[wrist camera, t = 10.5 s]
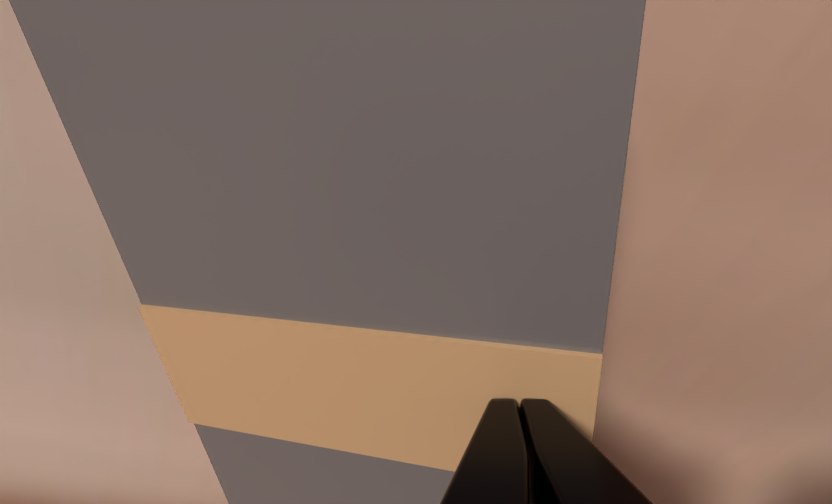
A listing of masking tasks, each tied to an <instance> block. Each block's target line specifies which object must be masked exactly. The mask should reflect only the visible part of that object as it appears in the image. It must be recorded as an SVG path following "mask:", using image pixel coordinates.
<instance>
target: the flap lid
mask: <svg viewBox="0 0 832 504" xmlns="http://www.w3.org/2000/svg"><path fill="white" fill-rule="evenodd" d="M9 1H10V4H11V6H12V8H13V11H14V13H15V15H16V17H17V20H18V22H19V24H20V27H21V29H22V31H23V33H24V36H25V38H26V40H27V43H28V45H29V47H30V50H31V52H32V54H33V56H34V59H35V61H36V63H37V66H38V68H39V70H40V72H41V75H42V77H43V79H44V82H45V84H46V86H47V88H48V91H49V93H50V95H51V98H52V100H53V102H54V104H55V107H56V109H57V111H58V114H59V116H60V118H61V120H62V123H63V125H64V127H65V130H66V132H67V134H68V136H69V139H70V141H71V143H72V146H73V148H74V150H75V152H76V155H77V157H78V159H79V162H80V164H81V166H82V168H83V171H84V173H85V175H86V178H87V180H88V182H89V184H90V187H91V189H92V191H93V194H94V196H95V198H96V200H97V203H98V205H99V207H100V210H101V212H102V214H103V216H104V219H105V221H106V223H107V226H108V228H109V230H110V233H111V235H112V237H113V239H114V242H115V244H116V246H117V249H118V251H119V253H120V255H121V258H122V260H123V262H124V265H125V267H126V269H127V271H128V274H129V276H130V278H131V281H132V283H133V285H134V287H135V290H136V292H137V294H138V297H139V299H140V301H141V303H142V305H141V306H139V307H138V309H139V311H140V313H141V316H142V318H143V320H144V322H145V325H146V327H147V329H148V331H149V334H150V336H151V338H152V340H153V343H154V345H155V347H156V349H157V352H158V354H159V356H160V358H161V361H162V363H163V365H164V367H165V370H166V372H167V374H168V376H169V379H170V381H171V383H172V385H173V388H174V390H175V392H176V394H177V397H178V399H179V401H180V403H181V406H182V408H183V410H184V413H185V415H186V417H187V419H188V422H189V423H194V425H195V427H196V429H197V432H198V434H199V436H200V438H201V441H202V443H203V445H204V448H205V450H206V452H207V454H208V457H209V459H210V461H211V464H212V466H213V468H214V470H215V473H216V475H217V477H218V480H219V482H220V484H221V486H222V489H223V491H224V493H225V496H226V498H227V500H228V502H229V504H440V502H441V500H442V498H443V496H444V494H445V491H446V489H447V487H448V485H449V483H450V481H451V479H452V477H453V475H454V473H455V471H456V469H457V467H458V465H459V462H460V460H461V458H462V456H463V454H464V452H465V450H466V448H467V446H468V444H469V442H470V440H471V438H472V435H473V433H474V431H475V429H476V427H477V425H478V423H479V421H480V419H481V417H482V415H483V413H484V411H485V409H486V406H487V404H488V402H489V401H490V400H491V399H502V398H512V399H514V400H515V401H516V403H517V407H518V412H519V416H520V402H521V400H522V399H524V398H536V399H547V400H549V401H550V402H551V403H552V404H553V405H554V406H555V407H556V408H557V409H558V410H559V411H560V412H561V413H562V414H563V415H564V416H565V417H566V418H567V419H568V420H569V421H570V422H571V423H572V424H573V425H574V426H575V427H576V428H577V429H578V430H579V431H580V432H581V433H582V434H583V435H584V436H585V437H586V438H587V439H588V440H589V441H590V442H591V443H592V439H593V431H594V423H595V415H596V407H597V399H598V391H599V383H600V375H601V367H602V352H603V344H604V335H605V327H606V319H607V311H608V303H609V295H610V287H611V279H612V271H613V263H614V254H615V246H616V238H617V230H618V222H619V214H620V206H621V198H622V190H623V182H624V174H625V165H626V157H627V149H628V141H629V133H630V125H631V117H632V109H633V101H634V93H635V85H636V76H637V68H638V60H639V52H640V44H641V36H642V28H643V20H644V12H645V4H646V0H9Z"/></svg>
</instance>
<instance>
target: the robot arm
mask: <svg viewBox="0 0 832 504" xmlns="http://www.w3.org/2000/svg"><path fill="white" fill-rule="evenodd" d="M440 504H653V503H652V502H651V501H650V500H649V499H648V498H647V497H646V496H645V495H644V494H643V493H642V492H641V491H640V490H639V489H638V488H637V487H636V486H635V485H634V484H633V483H632V482H630V481H629V480H628V479H627V478H626V477H625V476H624V475H623V474H622V473H621V472H620V471H619V470H618V469H617V468H616V467H615V466H614V465H613V464H612V463H611V462H610V461H609V460H608V459H607V458H606V457H605V456H604V455H603V454H602V453H601V452H600V451H599V450H598V449H597V448H596V447H595V446H594V445H593V444H592V443H591V442H590V441H589V440H588V439H587V438H586V437H585V436H584V435H583V434H582V433H581V432H580V431H579V430H578V429H577V428H576V427H575V426H574V425H573V424H572V423H571V422H570V421H569V420H568V419H567V418H566V417H565V416H564V415H563V414H562V413H561V412H560V411H559V410H558V409H557V408H556V407H555V406H554V405H553V404H552V403H551V402H550V401H549V400H547V399H536V398H524V399H522V400H521V402H520V416H519V412H518V407H517V403H516V401H515V400H514V399H512V398H502V399H491V400H490V401H489V402H488V404H487V406H486V409H485V411H484V413H483V415H482V417H481V419H480V421H479V423H478V425H477V427H476V429H475V431H474V433H473V435H472V438H471V440H470V442H469V444H468V446H467V448H466V450H465V452H464V454H463V456H462V458H461V460H460V462H459V465H458V467H457V469H456V471H455V473H454V475H453V477H452V479H451V481H450V483H449V485H448V487H447V489H446V491H445V494H444V496H443V498H442V500H441V502H440Z"/></svg>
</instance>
